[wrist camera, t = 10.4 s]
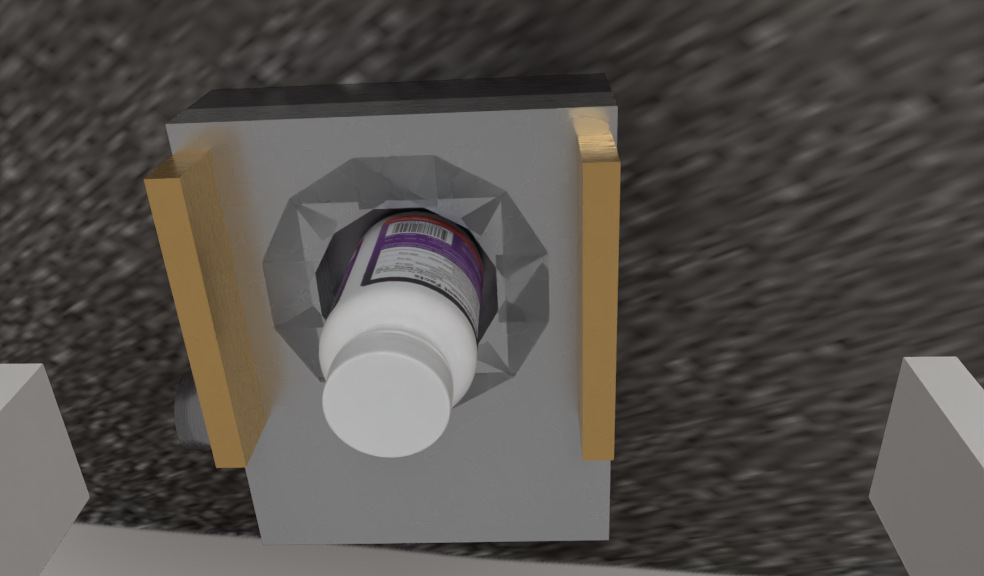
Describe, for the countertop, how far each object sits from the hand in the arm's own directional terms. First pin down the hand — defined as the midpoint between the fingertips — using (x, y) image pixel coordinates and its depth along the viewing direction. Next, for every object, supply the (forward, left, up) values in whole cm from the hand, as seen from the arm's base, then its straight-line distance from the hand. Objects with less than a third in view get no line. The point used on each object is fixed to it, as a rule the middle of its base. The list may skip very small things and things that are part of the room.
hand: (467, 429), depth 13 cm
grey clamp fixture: (+10, -5, -23) cm, 25 cm away
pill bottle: (+7, -4, -20) cm, 22 cm away
